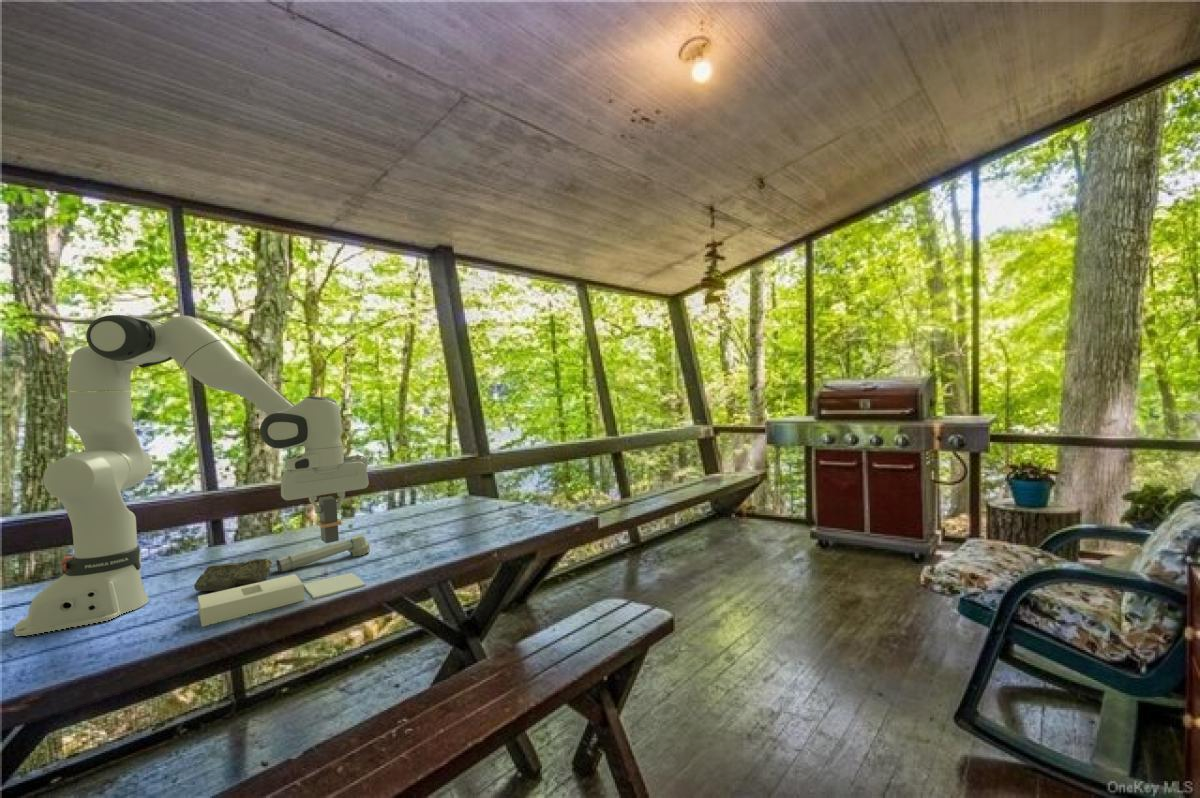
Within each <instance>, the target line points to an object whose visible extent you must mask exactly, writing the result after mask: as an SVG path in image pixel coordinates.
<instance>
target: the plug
mask: <svg viewBox="0 0 1200 798" xmlns="http://www.w3.org/2000/svg"><path fill="white" fill-rule="evenodd" d="M336 502H337V498H336V497H335V496H332V495H331V496H323V497H318V505H321V506H322V513H319V520H316V525H318V526H319V527H320V540H321V541H322V542H324V543H325V544H330V543H334V542H340V539H339V537H340V536H339V526H340V525H341V526H342V521H341V520H340V519H338V510H337V504H336Z"/></svg>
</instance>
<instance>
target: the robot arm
mask: <svg viewBox="0 0 1200 798" xmlns="http://www.w3.org/2000/svg"><path fill="white" fill-rule="evenodd" d="M85 336H86V337H85V338H86V342H87V344H88V345H86V346H83V347H80V348H77V349H76V350H74V352H73V353H72V355H71V357H70V361H69V366H68V371H67V384H66V386H67V387H66V388H67V389H66V392H67V393H66V394H67V395H66V396H67V397H66V398H67V419H68V420H67V422H68V425H69V427H70V428H71V429H72V430H73V431H75V432H76V433H77V434H78V436H79V438H80V440H81V442H82V445H83V448H84V451H79V452H75V453H74V452H73V453H72V454H68V455H66V456H64V457H61V458H60V459H58V460H55V461H54V462H52V463H50V465H49V466H48V467H47V468H46V470H45V471H44V472H43V473H44V474H43V476H42V481H43V486H44V488H45V490H46V492H47V493H49V494H50V495H51V496H53V497H54V498H57V500H58V501H60V502H61V504H62V506H63V508H64V510H65V511H66V513H67V515H68V518H69V520H70V524H71V531H72V539H73V554H74V555H73V556H70V555H68V556H64V558H63V559H62V560H61V571H62V574H63V575H61V576H60V577H59V578H57V579H56V580H55V581H53V582H52V583H51V584H49V586H47V587H46V588H44V589H43V590H41V591H40V592H39V593H38V594H37V595H36V596H35V597H34V598H33V599H32V601H31V602H30V605H29V608H28V612H27V616H26V617H24V618H23V619H21V620H19V621H18V622H17V623H16V624H15V626H14V628H13V635H14V634H16V635H19V636H25V635H32V634H37V635H39V634H38V633H43V634H45V633H44V632H48V633H51V632H50V631H53V632H56V631H55V630H58V631H62V630H61V629H64V630H67V629H66V628H69V629H71V628H70V627H74V628H78V627H77V626H80V627H83V626H82V625H85V626H89V625H88V624H90V625H94V624H93V623H96V624H99V623H98V622H101V623H104V622H103V621H106V622H109V621H108V620H110V621H112V620H111V619H113V618H115V617H117V616H119V615H120V616H122V615H124V614H123V613H125V614H127V613H130V612H132V610H133V611H134V610H137V609H140V608H141V607H143V606H145V605H146V604H148V602H149V600H150V598H149V597H148V595H147V592H146V589H145V587H144V583H143V579H142V575H141V570H140V569H141V566H142V552H141V551H142V550H141V549H140V548H141V547H140V545H138V534H137V533H138V531H137V517H136V514H135V513H134V512H133V511H132V510H130V509H129V508H128V507H127V505H126V503H125V501H124V498H123V497H122V490H123V491H124V490H127V489H130V488H133V487H134V486H136V485H138V484H140V482H142V481H144V480H145V479H146V478H148V477H149V475H150V473H151V471H152V469H153V463H152V459H151V457H150V455H149V454H148V453H147V452H145V450H144V449H143V448H142V446H141V444H140V441H139V438H138V437H137V433H136V429H135V427H134V422H133V415H132V413H133V411H132V410H133V409H132V408H133V407H132V384H131V376H132V373H133V371H134V369H135V368H137V367H139V368H142V369H143V368H148V367H151V366H156V365H158V364H159V365H160V364H162V363H166V362H169V361H172V360H174V361H175V362H176V363H177V364H179V365H180V367H182V368H183V369H184V370H185V371H186V372H187V373H188V374H189V375H191V376H192V377H193V378H194V379H195V380H197V381H199V382H200V383H201V384H203V385H205V386H206V387H208V388H211V389H214V390H219V391H223V392H227V393H230V394H234V395H237V396H240V397H242V398H245V399H246V400H247V401H249V402H251V403H252V404H253V405H255V406H256V407H257V408H258V409H259V410H261V412H263V413H264V414H265V415H266V417H265V418H264V419H263V420H262V422H261V424H260V426H259V433H260V434H259V435H260V438H261V440H262V441H263V442H264V444H265V445H267V446H268V447H271V448H273V449H280V450H281V449H282V450H285V449H291V448H296V447H304V453H302V454H300V455H297V456H295V457H292V458H290V459H287V460H286V461H285V462H284V467H285V469H286V470H285V471H284V472H283V473H282V476H281V482H280V483H281V484H280V496H281V498H282V499H283V500H285V501H293V500H300V499H306V498H308V500H309V502H310V503H311V505H312V506H313V507H314V513H315V514H320V513H322V506H321V505H319V504H317V502H316V501H318V496H326V495H331V494H336V495H337V496H338V498H337V499H336V504H337V511H340V510H342V502H343V501H344V499H345V497H346V492H351V491H356V490H357V491H358V490H363V489H366V488H368V486H369V483H370V481H369V475H368V471H367V469H368V465H369V464H368V459H367V457H366V456H364V455H362V454H355V455H344V444H343V441H342V431H343V430H342V429H343V428H342V415H341V411H340V407H339V404H338V402H337V401H336V400H335V399H333V398H330V397H323V396H314V395H312V396H309V395H308V396H306V397H304V398H303V399H302V400H301V401H299V402H298V403H296V404H294V403H292V402H291V401H290V400H289V399H288V398H287V397H285V396H284V395H283V394H282V393H281V392H279V390H277V389H276V388H275V387H273V386H272V385H271V384H270V383H269V382H268V381H267V380H265V379H264V378H263V377H262V376H261V375H260V374H259V373H258V372H257V371H256V370H255V369H254V368H253V367H252V366H251V365H250V364H249V363H248V362H247V361H246V360H245V359H244V358H243V357H242V356H241V354H240V353H238V352H237V351H236V350H235V349H234V347H232V346H231V344H230V343H229V342H228V341H226V340H225V339H224V338H223V337H222V336H221V335H220V334H219V333H217V332H216V331H215V330H213V329H212V328H210V327H209V326H208V325H207V324H205V323H204V322H202V321H201V320H200V319H198V318H196V317H194V316H191V315H178V316H175V317H172V318H170V319H168V320H167V321H165V322H162V321H161V322H159V321H156V320H152V319H150V318H144V317H141V316H139V317H135V316H129V315H125V314H109V315H103V316H100V317H98V318H96V319H95V320H94V321H92V322H91V323H90V324H89V326H88V328H87V330H86V333H85ZM129 611H130V612H129ZM126 612H127V613H126ZM121 614H122V615H121ZM120 616H119V617H120ZM117 618H118V617H117ZM115 619H116V618H115ZM113 620H114V619H113ZM32 636H33V635H32Z"/></svg>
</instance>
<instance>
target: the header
mask: <svg viewBox="0 0 1200 798" xmlns="http://www.w3.org/2000/svg"><path fill="white" fill-rule="evenodd" d="M304 584H305V583H303V581H301V580H300V577H299V576H297V575H296V574H295V573H294V574H290V575H286V576H285V575H284V576H281V577H276V578H272V579H267V580H263V581H262V582H258V583H252V584H244V585H240V586H235V587H233V588H230V589H227V590H219V591H214V592H211V593H207V594H201V595H197V605H198V607H197V608H198V617H199V621H200V625H201V627H202V628H203V627H207V626H210V624H211V625H215V624H219V623H222V621H223V622H226V621H230V620H234V619H239V618H241V617H245V616H249V615H248V614H250V615H253V614H256V613H260V612H264V611H269V610H271V609H277V608H280V607H284V606H287V605H292V604H295V603H300V602H303V601H305V587H304ZM252 613H253V614H252ZM218 622H219V623H218Z"/></svg>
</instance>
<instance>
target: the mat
mask: <svg viewBox="0 0 1200 798" xmlns="http://www.w3.org/2000/svg"><path fill="white" fill-rule="evenodd" d="M303 584H304V590H306V591H307V593H309V594H310V596H311V597H312V598H313V599H314V600H316V599H321V598H323V597H324V598H325V597H327V596H331V595H336V594H339V593H343V592H346V591H350V590H354V589H358V588H362V587H366V585H367V584H366V583H365V582H364V581H363V580H361V579H360V578H359V577H358V576H357V575H355V573H354V572H349V573H345V574H339V575H337V576H333V577H329V578H324V579H319V580H317V581H312V582H307V583H303Z"/></svg>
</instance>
